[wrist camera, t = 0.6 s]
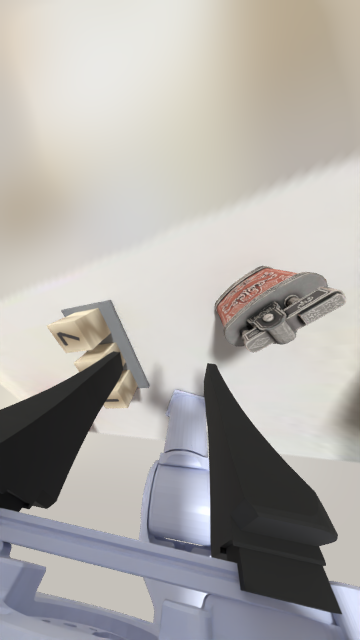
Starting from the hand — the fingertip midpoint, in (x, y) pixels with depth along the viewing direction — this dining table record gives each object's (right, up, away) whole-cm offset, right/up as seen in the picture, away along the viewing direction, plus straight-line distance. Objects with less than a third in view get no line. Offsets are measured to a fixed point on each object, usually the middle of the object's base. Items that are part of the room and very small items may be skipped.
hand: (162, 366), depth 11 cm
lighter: (+10, +8, +7) cm, 14 cm away
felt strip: (-11, -2, +14) cm, 18 cm away
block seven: (-13, +3, +11) cm, 17 cm away
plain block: (-11, -2, +13) cm, 18 cm away
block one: (-10, -8, +16) cm, 21 cm away
